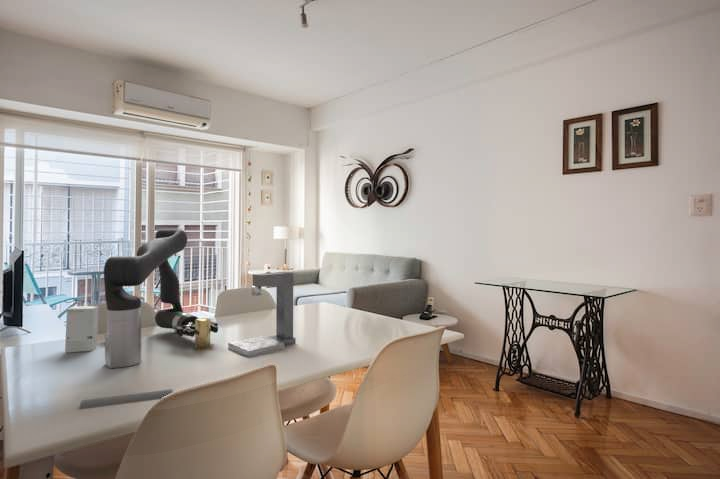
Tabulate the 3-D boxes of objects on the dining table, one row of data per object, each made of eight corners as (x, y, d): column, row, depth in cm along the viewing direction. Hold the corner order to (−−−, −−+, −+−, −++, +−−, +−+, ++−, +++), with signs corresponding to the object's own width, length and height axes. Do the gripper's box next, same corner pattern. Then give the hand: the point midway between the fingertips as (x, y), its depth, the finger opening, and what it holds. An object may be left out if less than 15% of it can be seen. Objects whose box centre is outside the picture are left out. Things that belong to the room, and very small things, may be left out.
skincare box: (64, 353, 139) (64, 309, 139) (71, 348, 145) (71, 305, 144) (93, 351, 141) (93, 307, 141) (99, 346, 147) (98, 304, 147)
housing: (198, 350, 143) (198, 321, 143) (192, 347, 146) (192, 319, 146) (212, 347, 146) (212, 319, 146) (206, 344, 150) (206, 317, 150)
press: (248, 357, 136) (248, 278, 135) (220, 344, 150) (220, 273, 149) (300, 344, 151) (300, 273, 150) (270, 334, 165) (270, 269, 164)
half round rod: (171, 399, 103) (171, 392, 103) (79, 411, 96) (79, 404, 96) (172, 393, 107) (172, 386, 107) (83, 404, 100) (83, 397, 100)
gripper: (166, 316, 151) (184, 324, 140) (204, 311, 161) (224, 318, 150) (166, 337, 152) (184, 346, 140) (204, 330, 162) (224, 338, 150)
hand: (205, 331), depth 145 cm, fingers open, 8 cm apart
